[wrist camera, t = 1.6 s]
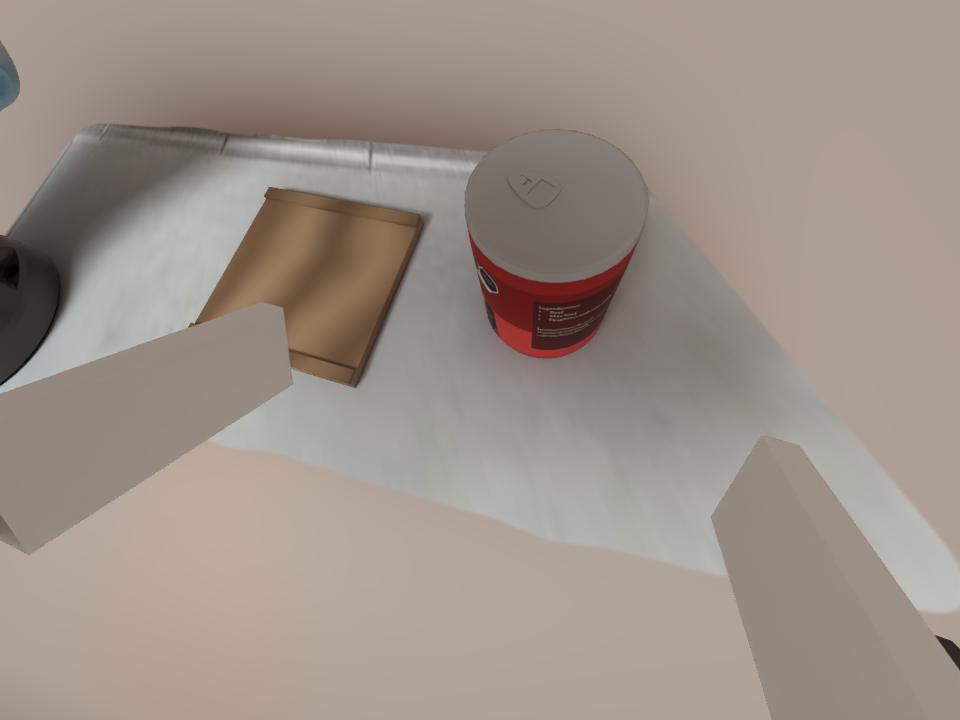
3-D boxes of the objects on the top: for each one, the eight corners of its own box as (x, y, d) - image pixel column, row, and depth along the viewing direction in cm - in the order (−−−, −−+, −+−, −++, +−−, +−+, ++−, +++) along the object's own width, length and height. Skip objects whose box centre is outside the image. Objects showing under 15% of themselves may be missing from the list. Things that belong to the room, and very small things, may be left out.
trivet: (196, 340, 29) (184, 334, 28) (277, 196, 33) (269, 186, 32) (355, 387, 26) (348, 383, 25) (423, 224, 30) (420, 215, 29)
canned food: (513, 249, 28) (505, 110, 18) (617, 284, 26) (676, 152, 16) (468, 335, 26) (430, 237, 16) (576, 380, 24) (613, 301, 14)
